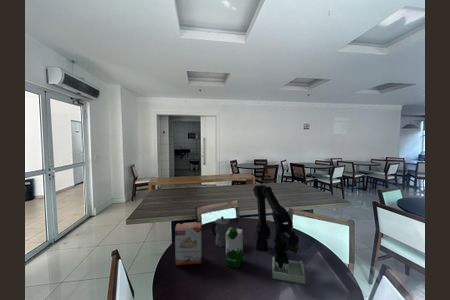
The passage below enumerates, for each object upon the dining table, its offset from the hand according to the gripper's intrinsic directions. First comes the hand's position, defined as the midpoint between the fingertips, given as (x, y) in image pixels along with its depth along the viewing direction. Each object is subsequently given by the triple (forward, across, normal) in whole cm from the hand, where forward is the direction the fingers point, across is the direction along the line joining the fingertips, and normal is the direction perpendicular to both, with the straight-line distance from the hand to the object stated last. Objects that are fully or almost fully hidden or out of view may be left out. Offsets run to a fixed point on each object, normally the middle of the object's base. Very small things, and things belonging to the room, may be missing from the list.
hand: (280, 264), depth 94 cm
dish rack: (+4, 0, -4) cm, 5 cm away
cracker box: (+4, -4, +50) cm, 50 cm away
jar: (+2, 0, 0) cm, 2 cm away
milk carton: (+4, +1, +24) cm, 25 cm away
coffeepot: (+4, +17, +36) cm, 40 cm away
